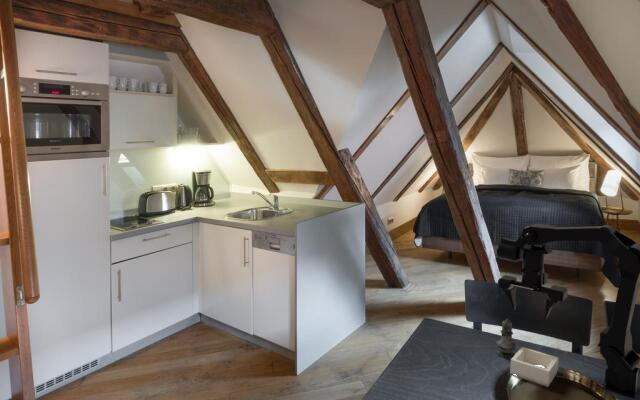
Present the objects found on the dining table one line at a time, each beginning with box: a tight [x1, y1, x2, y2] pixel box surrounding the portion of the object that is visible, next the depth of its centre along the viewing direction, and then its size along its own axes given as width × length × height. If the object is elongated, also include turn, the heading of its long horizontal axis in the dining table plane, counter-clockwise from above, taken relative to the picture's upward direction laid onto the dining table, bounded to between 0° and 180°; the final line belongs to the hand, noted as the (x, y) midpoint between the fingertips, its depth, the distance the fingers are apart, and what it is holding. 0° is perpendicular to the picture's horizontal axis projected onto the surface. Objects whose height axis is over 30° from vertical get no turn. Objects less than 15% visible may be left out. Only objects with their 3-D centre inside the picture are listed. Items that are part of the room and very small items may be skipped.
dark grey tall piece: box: [496, 318, 517, 360], centre depth 134 cm, size 6×6×12 cm
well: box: [509, 346, 560, 388], centre depth 124 cm, size 10×10×4 cm
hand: (529, 314), depth 133 cm, fingers open, 9 cm apart
